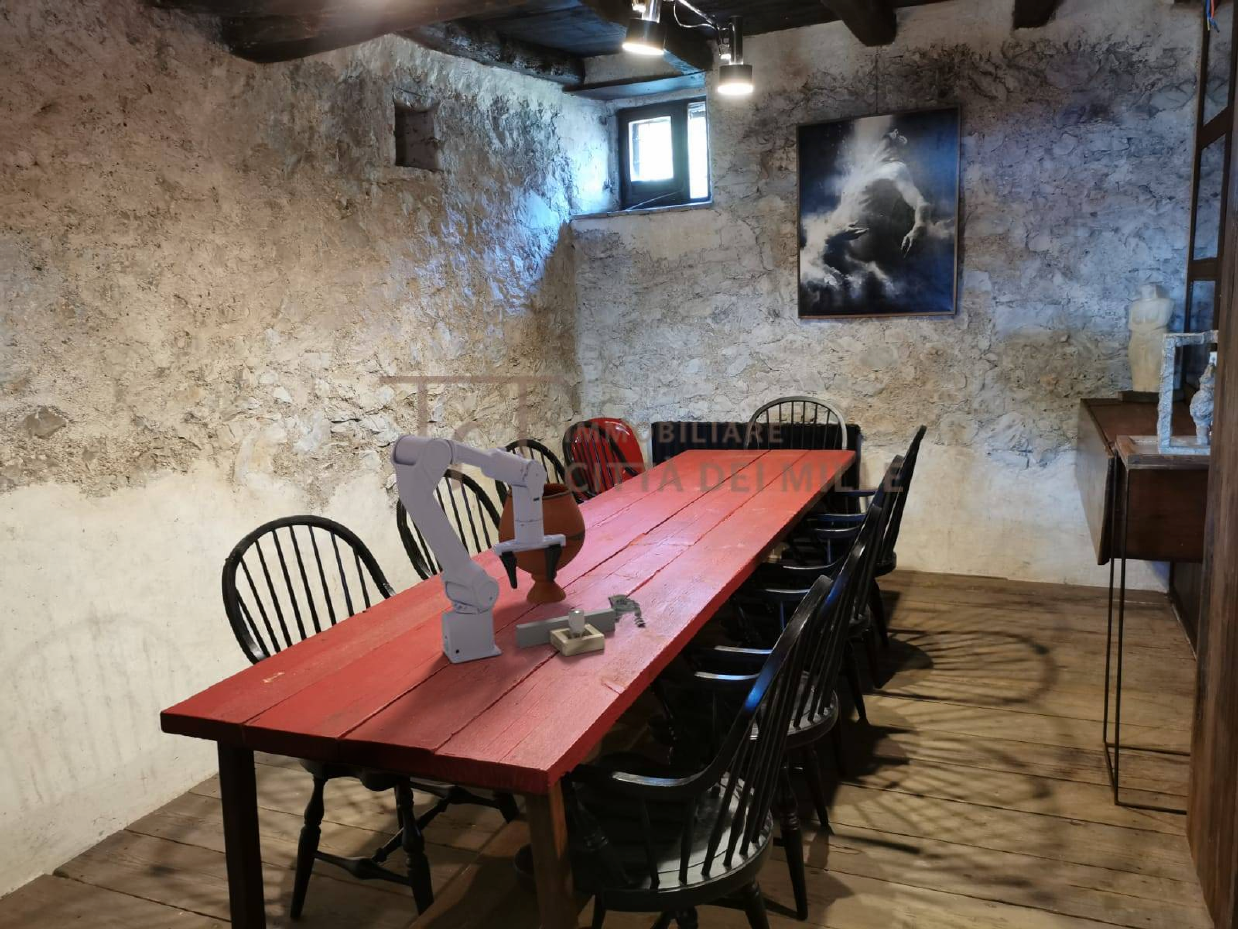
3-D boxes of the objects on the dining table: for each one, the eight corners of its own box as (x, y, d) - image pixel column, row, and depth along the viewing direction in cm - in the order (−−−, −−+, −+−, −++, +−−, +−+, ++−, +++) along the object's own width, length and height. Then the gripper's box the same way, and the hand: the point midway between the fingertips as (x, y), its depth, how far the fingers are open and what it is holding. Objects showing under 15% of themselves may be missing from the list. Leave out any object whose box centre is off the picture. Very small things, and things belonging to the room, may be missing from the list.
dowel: (572, 650, 173) (570, 615, 172) (567, 645, 176) (566, 610, 175) (587, 647, 174) (586, 612, 173) (582, 642, 177) (581, 607, 176)
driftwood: (607, 599, 205) (607, 590, 204) (638, 597, 205) (637, 588, 205) (612, 632, 184) (612, 622, 184) (645, 630, 185) (645, 620, 184)
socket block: (565, 656, 170) (564, 643, 170) (550, 642, 177) (549, 630, 177) (604, 648, 174) (604, 635, 173) (588, 635, 181) (587, 623, 180)
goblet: (486, 607, 200) (479, 496, 196) (527, 582, 218) (521, 479, 213) (566, 615, 193) (560, 499, 189) (601, 588, 211) (596, 481, 206)
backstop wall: (520, 648, 175) (519, 628, 175) (517, 645, 177) (515, 625, 176) (615, 629, 184) (614, 610, 183) (611, 626, 185) (610, 607, 185)
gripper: (499, 527, 175) (503, 596, 177) (569, 517, 181) (573, 583, 183) (488, 520, 181) (492, 586, 184) (557, 511, 187) (560, 575, 190)
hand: (532, 584), depth 184 cm, fingers open, 7 cm apart
